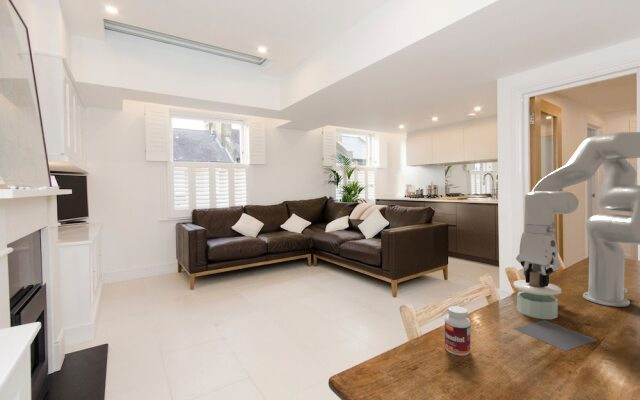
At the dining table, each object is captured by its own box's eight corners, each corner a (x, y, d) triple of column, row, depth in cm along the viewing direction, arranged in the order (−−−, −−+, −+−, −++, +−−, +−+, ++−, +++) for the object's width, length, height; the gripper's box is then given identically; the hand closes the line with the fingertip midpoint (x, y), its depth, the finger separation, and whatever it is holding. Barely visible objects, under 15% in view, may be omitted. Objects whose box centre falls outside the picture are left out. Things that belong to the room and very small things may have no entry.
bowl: (531, 304, 112) (531, 289, 112) (565, 316, 102) (565, 299, 101) (509, 309, 108) (510, 294, 107) (543, 322, 98) (543, 305, 97)
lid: (530, 280, 113) (530, 266, 112) (570, 292, 101) (571, 275, 100) (504, 285, 108) (504, 270, 108) (544, 297, 96) (544, 280, 95)
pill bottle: (441, 351, 82) (441, 310, 82) (449, 342, 87) (449, 303, 86) (466, 359, 78) (466, 316, 78) (473, 349, 83) (473, 308, 82)
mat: (544, 321, 99) (544, 319, 99) (597, 341, 86) (597, 339, 86) (513, 329, 93) (513, 328, 93) (565, 352, 80) (565, 350, 80)
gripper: (573, 232, 97) (571, 290, 98) (520, 226, 112) (520, 276, 113) (557, 233, 94) (556, 293, 95) (506, 227, 110) (505, 278, 110)
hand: (536, 283), depth 104 cm, fingers closed on lid, 4 cm apart
